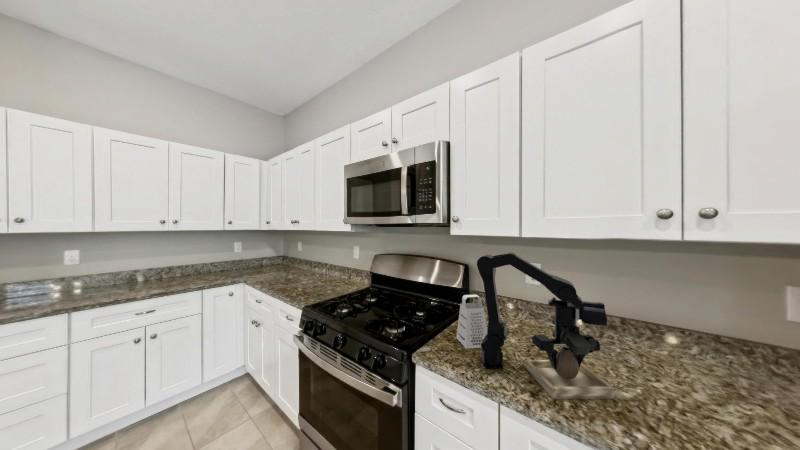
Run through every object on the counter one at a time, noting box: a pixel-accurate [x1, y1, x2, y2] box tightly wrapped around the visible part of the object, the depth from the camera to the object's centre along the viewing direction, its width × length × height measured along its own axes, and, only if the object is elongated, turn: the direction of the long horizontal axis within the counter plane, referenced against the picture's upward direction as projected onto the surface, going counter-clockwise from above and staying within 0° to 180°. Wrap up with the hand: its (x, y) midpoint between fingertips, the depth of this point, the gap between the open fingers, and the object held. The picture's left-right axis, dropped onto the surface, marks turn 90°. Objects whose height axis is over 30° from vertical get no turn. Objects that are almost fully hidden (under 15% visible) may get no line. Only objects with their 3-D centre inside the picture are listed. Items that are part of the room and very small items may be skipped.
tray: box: [525, 359, 616, 400], centre depth 82 cm, size 18×16×3 cm
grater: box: [455, 294, 488, 350], centre depth 111 cm, size 10×10×20 cm
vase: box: [555, 346, 579, 379], centre depth 82 cm, size 7×7×9 cm
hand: (565, 368), depth 82 cm, fingers closed on vase, 7 cm apart
